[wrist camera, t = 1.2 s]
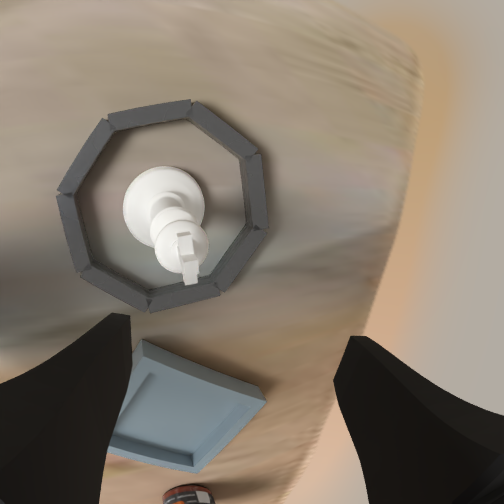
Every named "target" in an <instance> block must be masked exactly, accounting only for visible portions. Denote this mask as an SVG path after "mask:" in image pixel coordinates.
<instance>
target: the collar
mask: <svg viewBox="0 0 504 504" xmlns="http://www.w3.org/2000/svg"><path fill="white" fill-rule="evenodd" d="M181 119H187V120H188V121H189V122H191V123H192V124H193V125H195V126H196V127H197V128H199V129H200V130H201V131H203V132H204V133H206V134H207V135H208V136H210V137H211V138H212V139H214V140H215V141H216V142H217V143H219V144H220V145H221V146H223V147H224V148H225V149H227V150H228V151H229V152H231V153H232V154H233V155H234V156H236V157H237V158H238V159H239V163H240V171H241V179H242V188H243V196H244V204H245V212H246V221H247V224H246V225H245V226H244V228H243V229H242V231H241V232H240V233H239V235H238V236H237V238H236V239H235V240H234V242H233V243H232V245H231V246H230V247H229V249H228V250H227V252H226V253H225V254H224V256H223V257H222V259H221V260H220V262H219V263H218V264H217V266H216V267H215V269H214V270H213V271H212V273H211V274H210V275H209V276H205V277H200V278H198V283H196V284H191V285H186V286H185V283H184V282H180V283H176V284H172V285H168V286H164V287H160V288H155V289H151V290H147V289H145V288H144V287H142V286H140V285H138V284H136V283H135V282H133V281H131V280H129V279H128V278H126V277H124V276H122V275H121V274H119V273H117V272H115V271H114V270H112V269H110V268H108V267H107V266H105V265H103V264H102V263H100V262H98V261H97V260H95V259H93V256H92V253H91V249H90V246H89V242H88V238H87V234H86V230H85V226H84V222H83V218H82V214H81V210H80V205H79V201H78V196H77V191H78V190H79V188H80V186H81V185H82V183H83V181H84V180H85V178H86V176H87V175H88V173H89V171H90V170H91V168H92V167H93V165H94V163H95V162H96V160H97V159H98V157H99V156H100V154H101V153H102V151H103V150H104V148H105V147H106V145H107V144H108V142H109V141H110V139H111V138H112V136H113V135H114V133H115V132H118V131H122V130H127V129H131V128H136V127H141V126H146V125H152V124H157V123H163V122H168V121H175V120H181ZM108 121H109V122H108ZM108 121H106V120H105V119H103V118H102V119H101V120H100V122H99V123H98V125H97V126H96V128H95V129H94V131H93V132H92V134H91V135H90V136H89V138H88V140H87V141H86V143H85V144H84V146H83V147H82V149H81V150H80V152H79V153H78V155H77V157H76V158H75V160H74V162H73V163H72V165H71V167H70V168H69V170H68V172H67V173H66V175H65V177H64V178H63V180H62V182H61V184H60V185H59V187H58V189H57V190H58V191H59V192H61V193H60V194H59V195H57V196H56V198H57V203H58V207H59V211H60V215H61V219H62V223H63V227H64V231H65V235H66V239H67V242H68V246H69V249H70V253H71V256H72V260H73V263H74V266H75V269H76V272H82V273H81V276H80V277H81V278H82V279H84V280H86V281H88V282H89V283H91V284H93V285H95V286H96V287H98V288H100V289H102V290H104V291H105V292H107V293H109V294H111V295H113V296H114V297H116V298H118V299H120V300H122V301H124V302H125V303H127V304H129V305H131V306H133V307H135V308H137V309H139V310H141V311H143V312H145V311H146V310H147V308H149V311H150V313H153V312H157V311H161V310H165V309H169V308H173V307H177V306H181V305H185V304H189V303H193V302H197V301H201V300H205V299H209V298H213V297H217V296H220V291H219V290H221V291H223V292H225V291H226V290H227V289H228V287H229V286H230V284H231V283H232V282H233V280H234V279H235V277H236V276H237V275H238V273H239V272H240V271H241V269H242V268H243V266H244V265H245V264H246V262H247V261H248V259H249V258H250V257H251V255H252V254H253V252H254V251H255V250H256V248H257V247H258V245H259V244H260V243H261V241H262V240H263V238H264V237H265V236H266V234H267V233H266V232H265V231H264V230H262V229H266V228H269V226H268V216H267V206H266V196H265V187H264V177H263V168H262V159H261V154H256V151H257V150H258V148H257V147H255V146H254V145H253V144H252V143H250V142H249V141H248V140H247V139H245V138H244V137H243V136H242V135H240V134H239V133H238V132H237V131H235V130H234V129H233V128H232V127H230V126H229V125H228V124H226V123H225V122H224V121H223V120H221V119H220V118H219V117H217V116H216V115H215V114H214V113H212V112H211V111H210V110H208V109H207V108H206V107H204V106H203V105H202V104H200V103H199V102H198V101H196V102H194V103H193V104H192V105H191V99H189V100H181V101H175V102H168V103H162V104H156V105H150V106H145V107H139V108H134V109H129V110H125V111H120V112H115V113H111V114H108Z"/></svg>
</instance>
